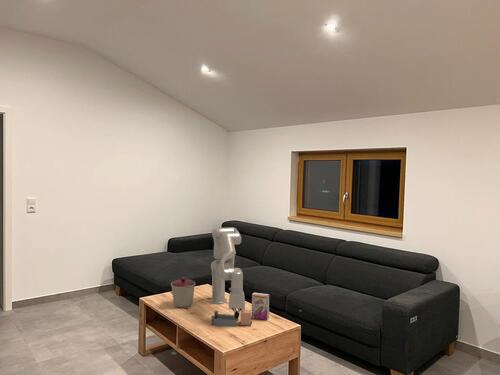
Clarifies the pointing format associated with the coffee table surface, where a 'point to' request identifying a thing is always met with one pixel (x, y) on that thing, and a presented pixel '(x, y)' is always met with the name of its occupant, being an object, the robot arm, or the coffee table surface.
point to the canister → (183, 292)
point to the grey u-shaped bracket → (223, 319)
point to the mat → (246, 325)
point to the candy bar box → (260, 306)
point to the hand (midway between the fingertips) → (236, 317)
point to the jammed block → (245, 317)
